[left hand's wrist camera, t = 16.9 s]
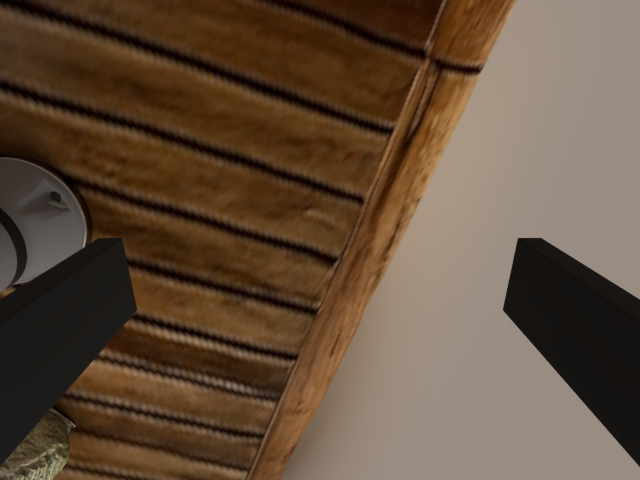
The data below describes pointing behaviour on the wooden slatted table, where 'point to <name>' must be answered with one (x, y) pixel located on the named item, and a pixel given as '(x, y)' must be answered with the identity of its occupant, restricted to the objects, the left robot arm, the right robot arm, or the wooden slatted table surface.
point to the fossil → (40, 450)
